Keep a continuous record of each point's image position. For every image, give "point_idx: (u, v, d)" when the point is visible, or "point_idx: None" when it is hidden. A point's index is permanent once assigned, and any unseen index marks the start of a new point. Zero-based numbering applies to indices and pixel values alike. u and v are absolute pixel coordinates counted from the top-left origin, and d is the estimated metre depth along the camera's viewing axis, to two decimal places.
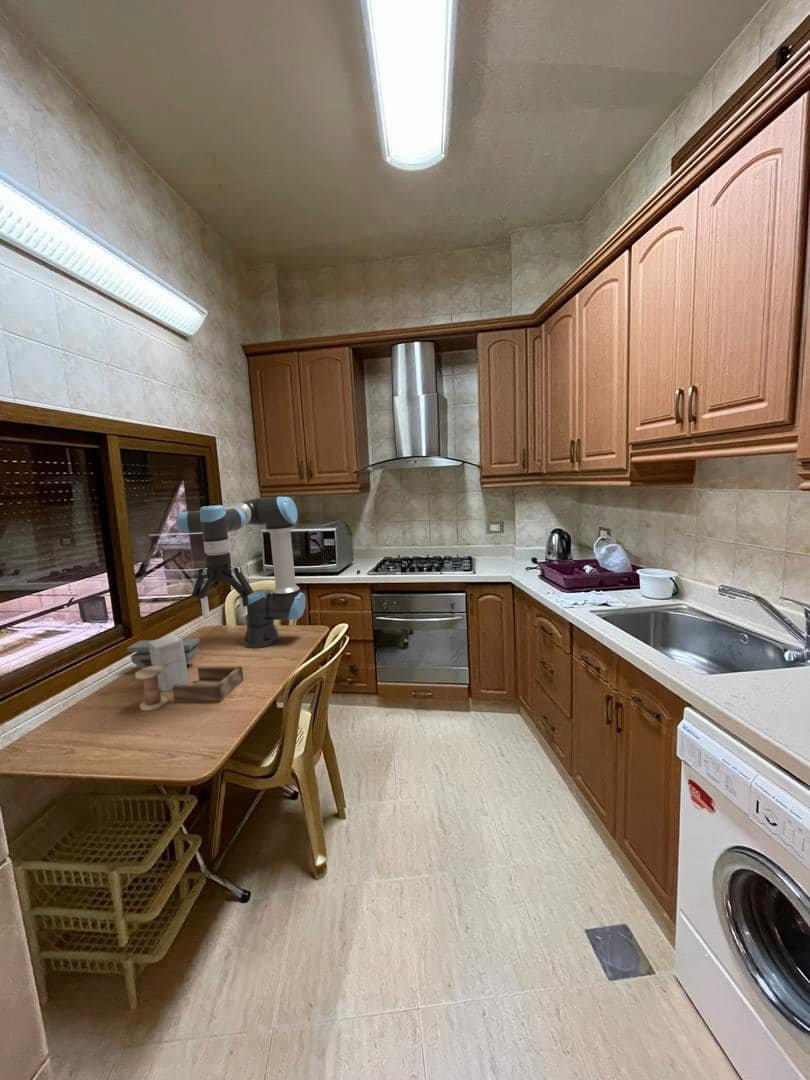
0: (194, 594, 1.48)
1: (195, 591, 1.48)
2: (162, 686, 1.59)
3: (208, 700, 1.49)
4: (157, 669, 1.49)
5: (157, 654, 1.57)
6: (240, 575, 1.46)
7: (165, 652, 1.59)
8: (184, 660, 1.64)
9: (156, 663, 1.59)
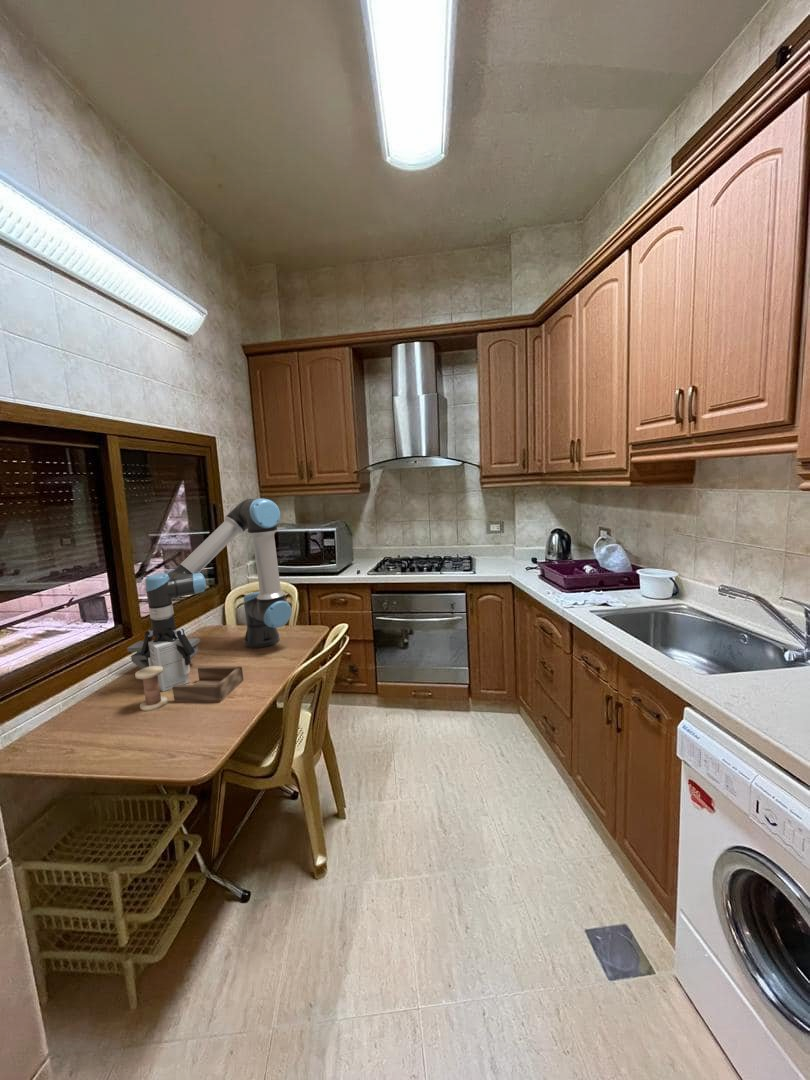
0: (142, 654, 1.64)
1: (143, 651, 1.63)
2: (162, 686, 1.59)
3: (208, 700, 1.49)
4: (157, 669, 1.49)
5: (157, 654, 1.57)
6: (182, 637, 1.61)
7: (165, 652, 1.59)
8: None
9: (156, 663, 1.59)
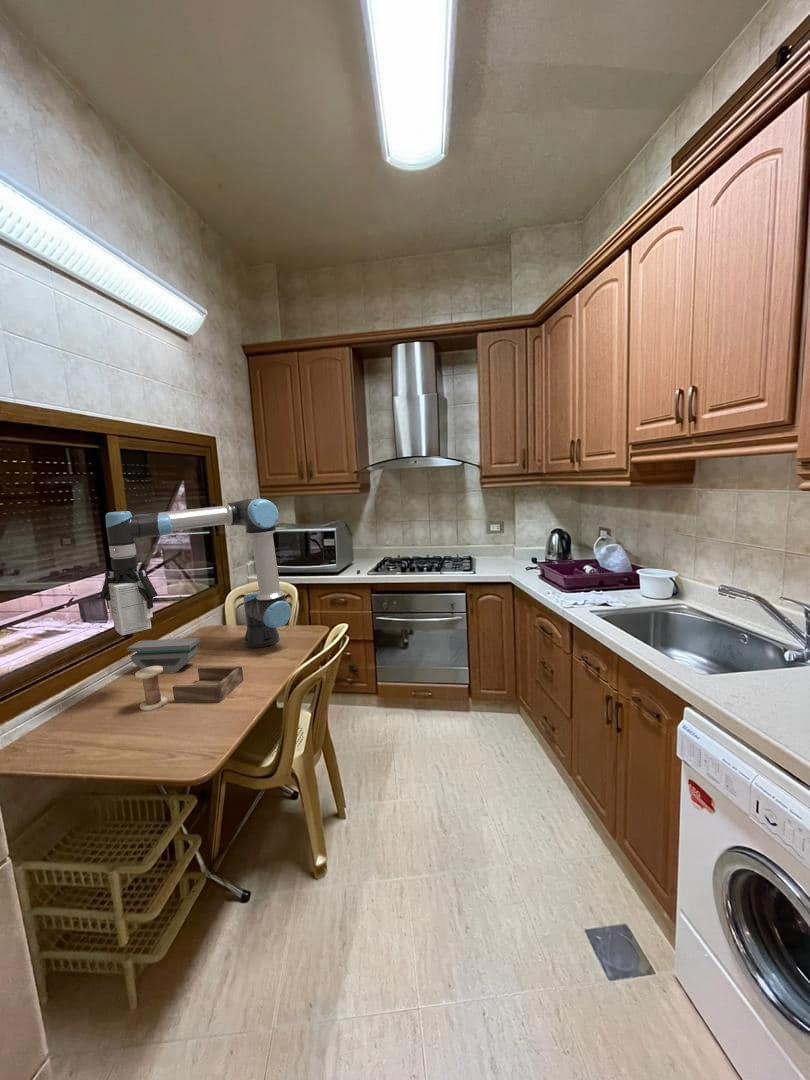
0: (102, 596, 1.54)
1: (103, 593, 1.54)
2: (121, 629, 1.50)
3: (208, 700, 1.49)
4: (157, 669, 1.49)
5: (116, 594, 1.48)
6: (144, 579, 1.52)
7: (125, 593, 1.50)
8: None
9: (115, 604, 1.49)
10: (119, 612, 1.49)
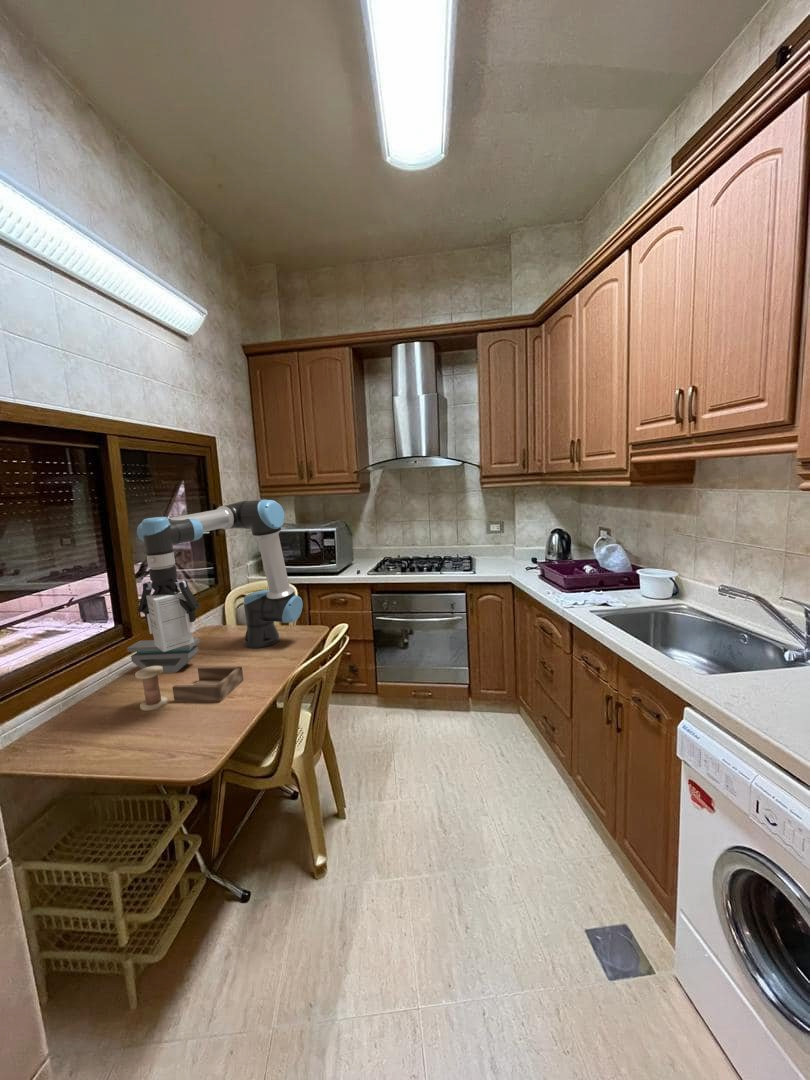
0: (140, 609, 1.43)
1: (141, 606, 1.42)
2: (163, 645, 1.38)
3: (208, 700, 1.49)
4: (157, 669, 1.49)
5: (156, 608, 1.36)
6: (186, 590, 1.40)
7: (166, 606, 1.38)
8: None
9: (156, 619, 1.38)
10: (160, 627, 1.37)
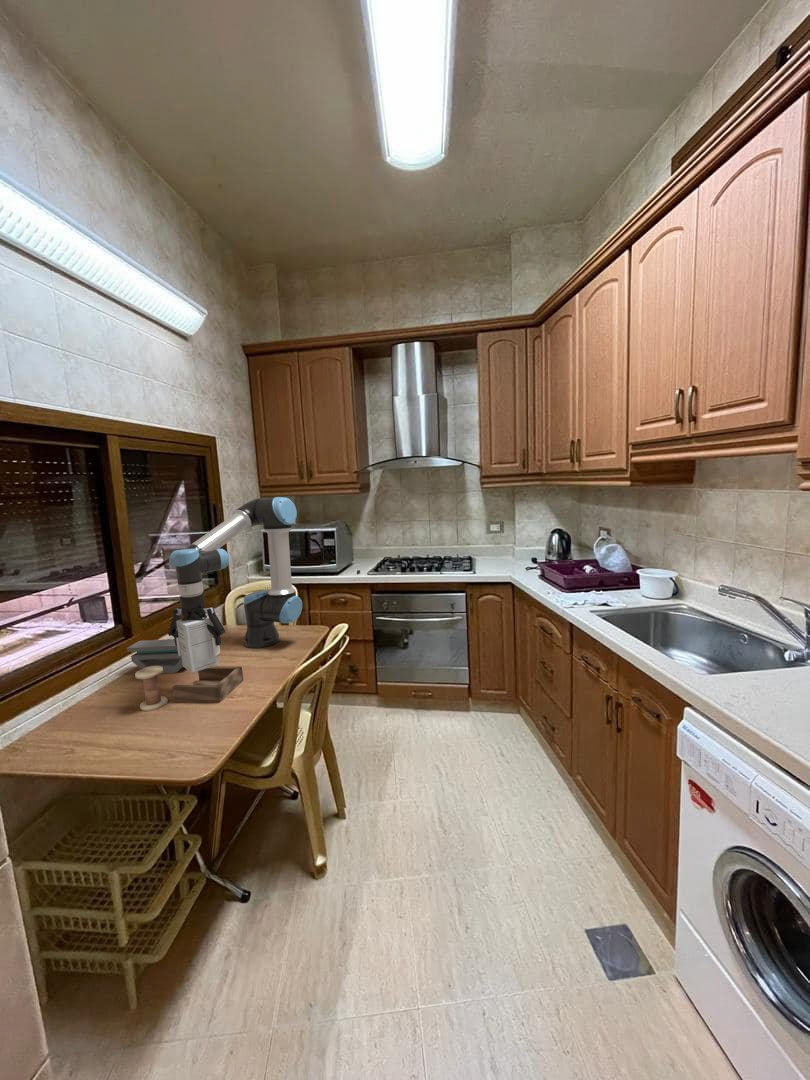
0: (170, 633, 1.55)
1: (171, 630, 1.55)
2: (191, 667, 1.50)
3: (208, 700, 1.49)
4: (157, 669, 1.49)
5: (187, 633, 1.49)
6: (213, 616, 1.53)
7: (195, 631, 1.50)
8: None
9: (185, 642, 1.50)
10: (189, 650, 1.49)
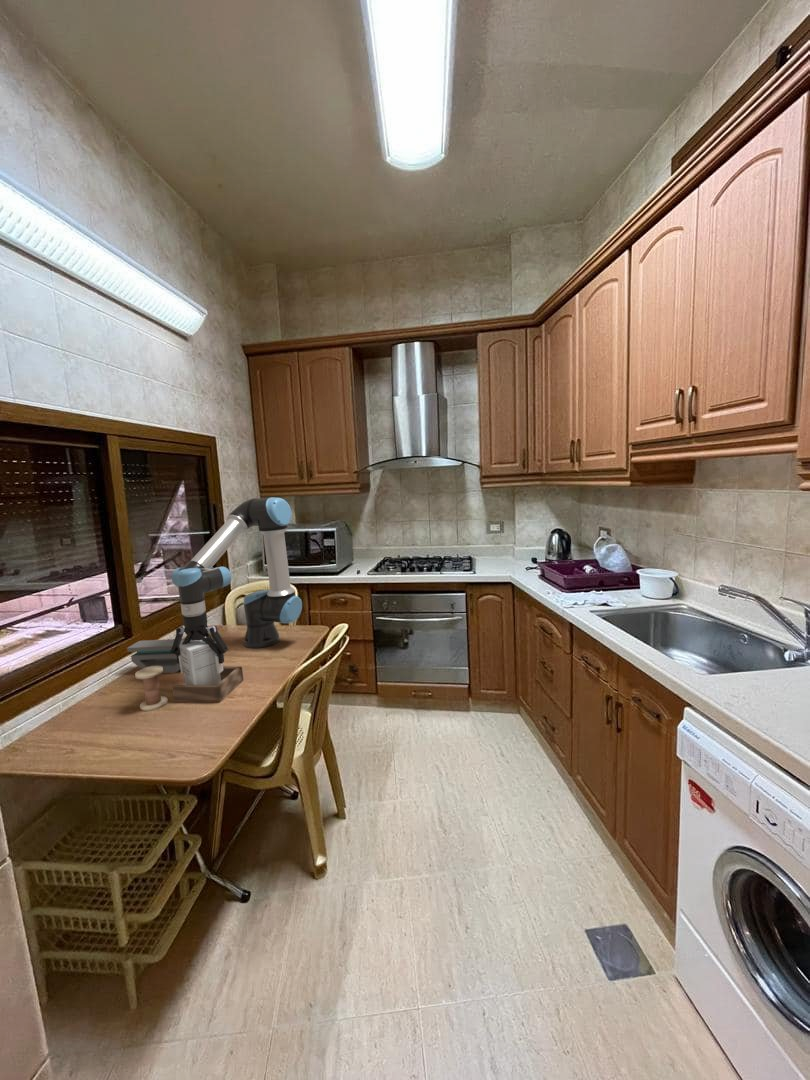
0: (172, 652, 1.56)
1: (173, 649, 1.56)
2: None
3: (208, 700, 1.49)
4: (157, 669, 1.49)
5: (190, 657, 1.50)
6: (215, 634, 1.54)
7: (198, 655, 1.52)
8: None
9: (189, 667, 1.52)
10: (193, 674, 1.51)
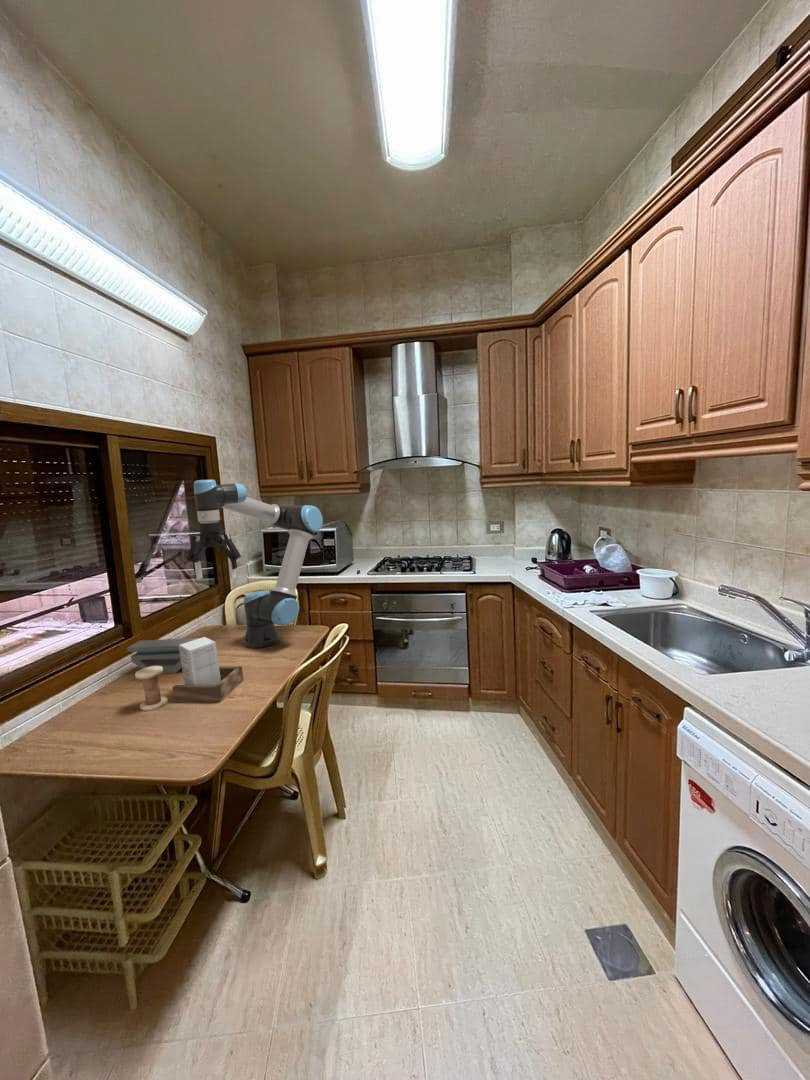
0: (189, 558, 1.68)
1: (189, 556, 1.67)
2: None
3: (208, 700, 1.49)
4: (157, 669, 1.49)
5: (190, 657, 1.50)
6: (229, 541, 1.65)
7: (198, 655, 1.52)
8: (217, 663, 1.57)
9: (189, 667, 1.51)
10: (193, 674, 1.51)
